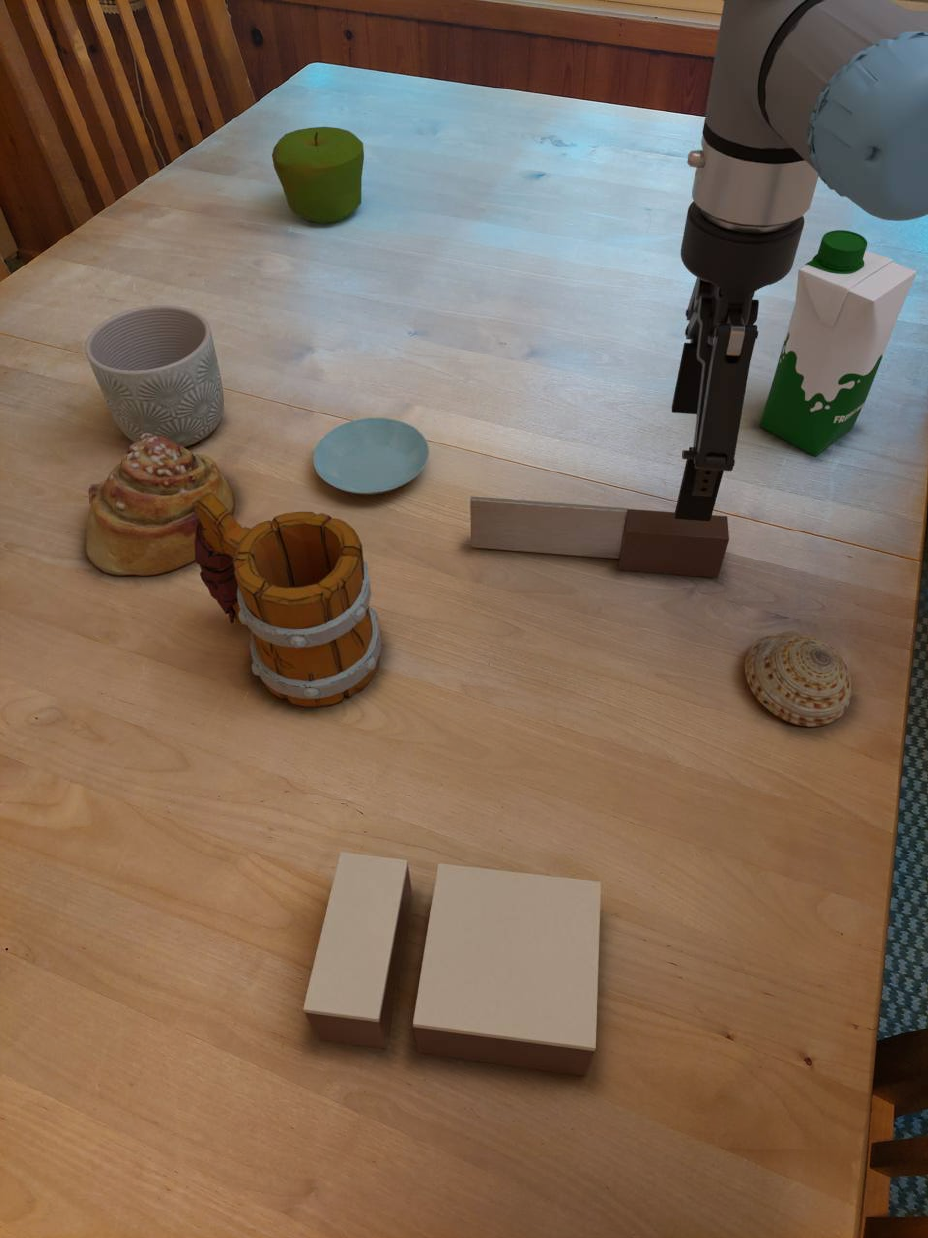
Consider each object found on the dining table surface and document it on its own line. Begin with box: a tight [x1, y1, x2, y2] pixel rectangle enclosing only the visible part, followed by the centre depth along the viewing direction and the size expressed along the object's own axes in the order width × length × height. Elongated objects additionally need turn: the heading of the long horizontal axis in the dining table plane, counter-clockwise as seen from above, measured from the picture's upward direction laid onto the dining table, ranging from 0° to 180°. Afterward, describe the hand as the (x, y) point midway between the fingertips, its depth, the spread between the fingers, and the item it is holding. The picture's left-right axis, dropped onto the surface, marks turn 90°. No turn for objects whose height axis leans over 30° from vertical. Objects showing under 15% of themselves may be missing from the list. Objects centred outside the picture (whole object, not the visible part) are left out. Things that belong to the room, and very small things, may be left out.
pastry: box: [85, 433, 236, 577], centre depth 85 cm, size 13×15×8 cm
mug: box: [192, 492, 382, 708], centre depth 72 cm, size 11×16×15 cm, turn 61°
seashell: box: [744, 631, 853, 728], centre depth 74 cm, size 8×6×8 cm
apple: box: [271, 126, 365, 224], centre depth 127 cm, size 12×12×11 cm
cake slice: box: [302, 851, 414, 1050], centre depth 58 cm, size 10×4×6 cm, turn 173°
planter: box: [84, 304, 225, 448], centre depth 94 cm, size 12×12×11 cm
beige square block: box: [412, 862, 602, 1077], centre depth 57 cm, size 10×10×6 cm
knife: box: [469, 496, 730, 579], centre depth 82 cm, size 23×3×6 cm, turn 83°
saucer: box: [312, 417, 430, 495], centre depth 92 cm, size 12×12×2 cm
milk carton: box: [758, 229, 918, 457], centre depth 89 cm, size 9×9×20 cm
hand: (689, 461), depth 75 cm, fingers open, 13 cm apart
